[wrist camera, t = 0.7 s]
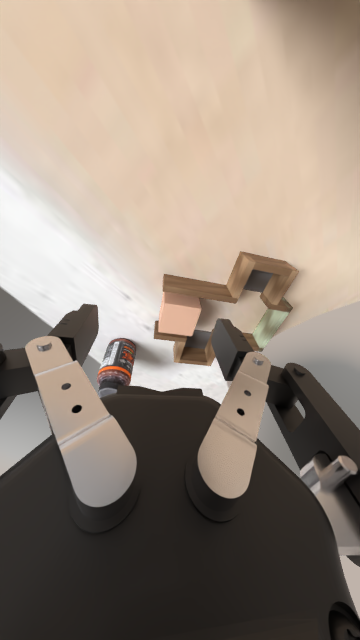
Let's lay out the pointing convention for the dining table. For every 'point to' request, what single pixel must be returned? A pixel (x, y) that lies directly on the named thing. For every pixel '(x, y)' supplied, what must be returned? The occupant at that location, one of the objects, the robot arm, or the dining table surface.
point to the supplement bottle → (116, 366)
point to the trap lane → (246, 275)
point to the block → (179, 314)
